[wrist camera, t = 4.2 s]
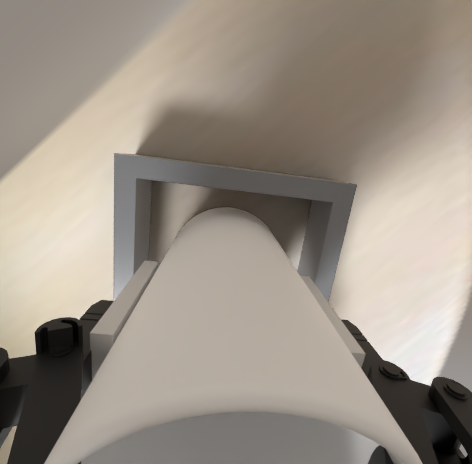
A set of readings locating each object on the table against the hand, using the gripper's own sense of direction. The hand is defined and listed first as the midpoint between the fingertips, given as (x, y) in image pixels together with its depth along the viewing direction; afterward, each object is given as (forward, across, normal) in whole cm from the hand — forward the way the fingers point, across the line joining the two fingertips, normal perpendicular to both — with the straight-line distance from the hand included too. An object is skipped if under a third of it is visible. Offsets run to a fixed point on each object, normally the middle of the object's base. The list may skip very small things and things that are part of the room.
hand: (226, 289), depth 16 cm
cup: (+5, 0, 0) cm, 5 cm away
